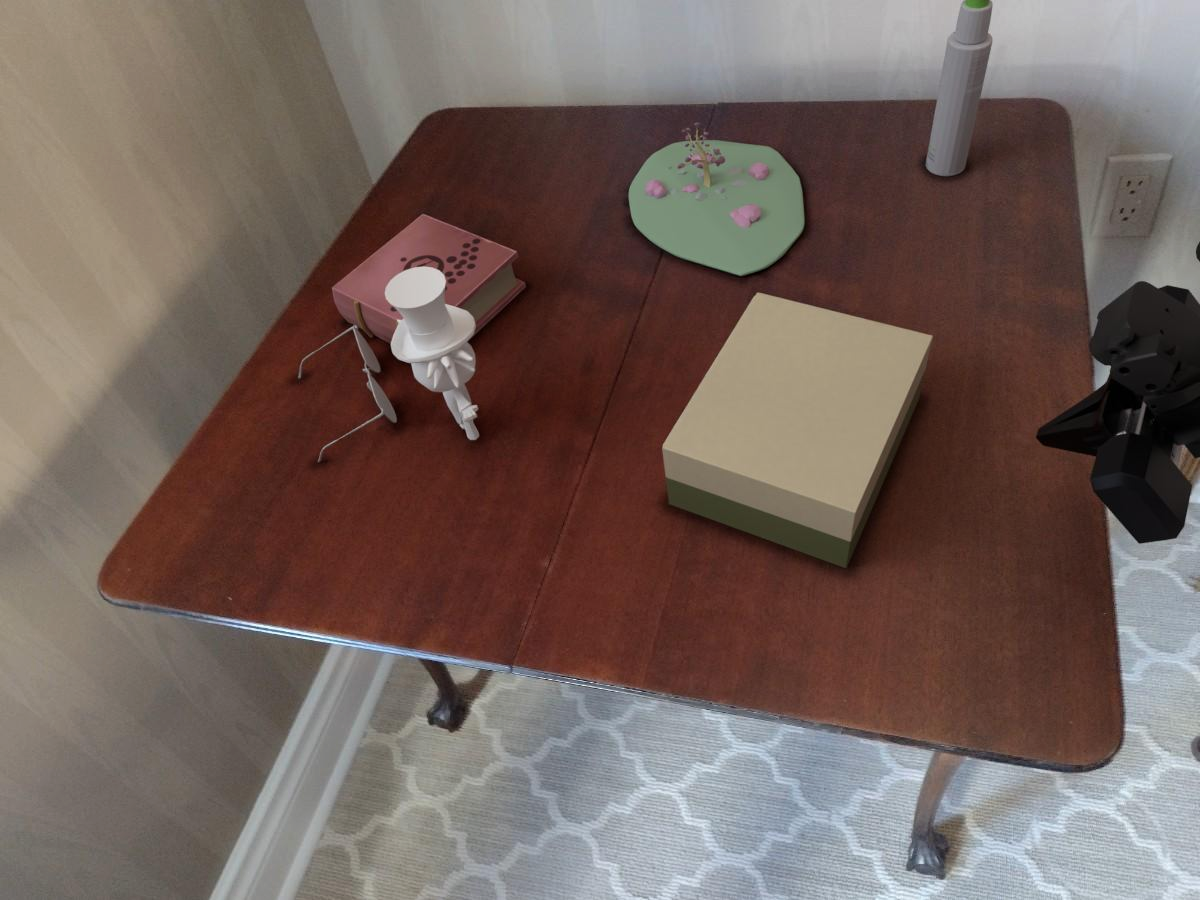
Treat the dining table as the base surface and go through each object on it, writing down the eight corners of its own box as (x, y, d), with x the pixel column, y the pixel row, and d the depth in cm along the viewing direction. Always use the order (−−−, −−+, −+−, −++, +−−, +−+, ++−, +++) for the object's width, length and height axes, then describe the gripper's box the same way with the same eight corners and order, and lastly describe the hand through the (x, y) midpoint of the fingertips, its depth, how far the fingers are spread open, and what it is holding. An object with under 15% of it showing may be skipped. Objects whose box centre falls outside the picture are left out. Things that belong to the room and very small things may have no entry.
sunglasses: (402, 435, 87) (378, 405, 83) (326, 474, 87) (299, 446, 83) (373, 347, 96) (350, 316, 92) (304, 382, 96) (278, 353, 92)
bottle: (938, 150, 105) (971, -25, 89) (972, 162, 102) (1012, -16, 87) (917, 168, 103) (947, -7, 88) (952, 181, 101) (989, 3, 85)
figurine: (524, 446, 84) (480, 304, 70) (450, 480, 83) (390, 342, 69) (484, 378, 91) (437, 236, 77) (415, 409, 89) (353, 270, 75)
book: (342, 326, 99) (325, 292, 95) (434, 248, 105) (422, 213, 102) (433, 373, 92) (419, 338, 88) (525, 286, 99) (516, 251, 95)
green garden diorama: (863, 226, 98) (872, 154, 91) (703, 299, 94) (699, 230, 87) (739, 127, 113) (738, 59, 106) (596, 187, 109) (586, 121, 102)
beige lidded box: (919, 398, 82) (933, 335, 76) (846, 568, 72) (855, 512, 66) (755, 352, 88) (755, 291, 82) (667, 503, 78) (660, 447, 72)
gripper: (1234, 182, 54) (1006, 280, 67) (1190, 391, 45) (936, 458, 58) (1323, 308, 57) (1089, 379, 70) (1299, 529, 48) (1034, 563, 61)
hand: (1039, 437), depth 65 cm, fingers closed
